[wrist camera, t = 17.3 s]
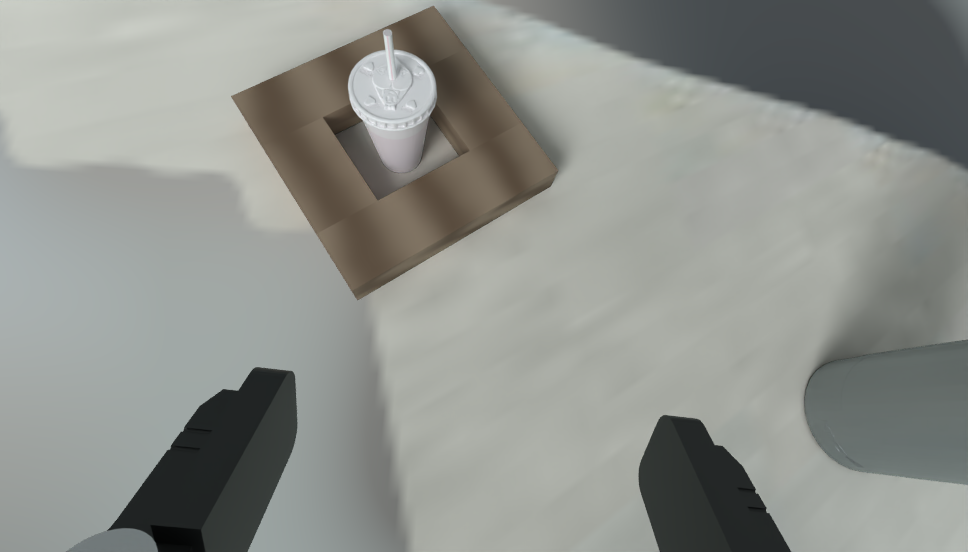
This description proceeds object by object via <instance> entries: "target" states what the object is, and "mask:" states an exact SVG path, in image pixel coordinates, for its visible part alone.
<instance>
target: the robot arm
mask: <svg viewBox="0 0 968 552" xmlns="http://www.w3.org/2000/svg"><path fill="white" fill-rule="evenodd" d="M805 413H806V417H807V422H808V425H809V427H810V430H811V432H812V434H813V436H814V438H815V439H816V441H817V442H818V444H819V445H820V447H821V448H822V449H823V450H824V451H825V452H826V453H827V454H828V455H829V456H830V457H831V458H832V459H834V460H835V461H836V462H838V463H839V464H841V465H843V466H845V467H847V468H849V469H852V470H856V471H860V472H867V473H875V474H883V475H892V476H900V477H906V478H914V479H923V480H931V481H939V482H947V483H956V484H964V485H968V340H961V341H955V342H948V343H941V344H935V345H928V346H921V347H915V348H908V349H901V350H895V351H888V352H881V353H874V354H868V355H863V356H862V357H856V358H849V359H843V360H837V361H832V362H830V363H827V364H825V365H823V366H822V367H821V368H819V369H818V370H817V371H816V372H815V373H814V375H813V376H812V378H811V379H810V381H809V384H808V386H807V389H806V394H805ZM296 433H297V406H296V388H295V375H294V373H293V372H292V371H286V370H277V369H268V368H260V367H256V368H254V369H253V370H252V371H251V372H250V374H249V375H248V377H247V378H246V380H245V381H244V383H243V384H242V386H241V388H240V389H239V391H234V390H226V389H223V390H222V391H221V392H219V393H218V394H216V395H215V396H213V397H212V398H210V399H209V400H208V401H206V402H205V403H203V404H202V405H201V406H200V407H199V408H198V409H197V411H196V412H195V414H194V415H193V416H192V417H191V419H190V420H189V422H188V423H187V424H186V426H185V427H184V431H183V432H181V433H180V434H179V435H178V437H177V438H176V439H175V441H174V442H173V444H172V445H171V449H170V450H167V452H166V453H165V454H164V456H163V457H162V458H161V460H160V462H159V463H158V464H157V465H156V467H155V468H154V469H153V471H152V472H151V474H150V475H149V476H148V478H147V479H146V480H145V482H144V483H143V484H142V486H141V487H140V489H139V490H138V491H137V493H136V494H135V495H134V497H133V498H132V500H131V501H130V502H129V504H128V505H127V506H126V508H125V509H124V511H123V512H122V513H121V515H120V516H119V517H118V519H117V520H116V521H115V522H114V524H113V525H112V526H111V527H110V528H109V529H108V530H107V531H105V532H102V533H99V534H96V535H94V536H92V537H90V538H87V539H85V540H84V541H82V542H80V543H78V544H77V545H75V546H74V547H72V548H71V549H69V550H68V551H66V552H248V549H249V547H250V545H251V543H252V540H253V538H254V536H255V533H256V531H257V529H258V527H259V525H260V522H261V520H262V518H263V515H264V513H265V511H266V509H267V506H268V504H269V502H270V500H271V498H272V495H273V493H274V491H275V489H276V486H277V484H278V482H279V479H280V477H281V475H282V473H283V471H284V468H285V466H286V464H287V462H288V459H289V457H290V455H291V452H292V449H293V446H294V443H295V438H296ZM639 487H640V491H641V495H642V498H643V501H644V504H645V507H646V510H647V513H648V516H649V519H650V522H651V526H652V529H653V532H654V535H655V538H656V541H657V544H658V547H659V550H660V552H791V551H790V549H789V547H788V546H787V544H786V542H785V540H784V538H783V537H782V535H781V533H780V531H779V530H778V528H777V526H776V524H775V523H774V521H773V519H772V517H771V516H770V514H769V513H767V512H766V507H765V505H764V503H763V501H762V500H761V498H760V496H759V494H756V493H755V490H756V489H755V487H754V486H753V484H752V482H751V480H750V479H749V477H748V475H747V473H746V472H745V470H744V468H743V466H742V465H741V464H740V463H739V462H738V461H737V460H736V459H735V458H734V457H733V456H732V455H731V454H730V453H729V452H728V451H727V450H726V449H725V448H724V447H723V446H718V445H714V443H713V441H712V439H711V437H710V435H709V434H708V432H707V430H706V428H705V426H704V424H703V423H702V422H701V421H700V420H699V419H694V418H686V417H677V416H668V415H663V416H662V417H660V419H659V420H658V422H657V425H656V427H655V429H654V432H653V434H652V436H651V439H650V441H649V443H648V446H647V448H646V450H645V453H644V455H643V457H642V460H641V463H640V467H639Z"/></svg>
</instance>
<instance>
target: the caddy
mask: <svg viewBox="0 0 968 552" xmlns="http://www.w3.org/2000/svg"><path fill="white" fill-rule="evenodd" d="M386 29H389V30H391V31H392V38H393V47H394V50H401V51H405V52H408V53H411V54H413V55H415V56H417V57H419V58H420V59H421V60H423V61H424V62H425V63H426V64H427V65H428V66H429V68H430V69H431V71H432V73H433V75H434V77H435V81H436V90H437V99H436V104H435V107H434V109H433V111H432V112H431V114H430V116H431V117H432V118H433V120H434V121H435V123H436V124H437V125H438V127H439V128H440V130H441V131H442V133H443V134H444V135H445V137H446V138H447V140H448V141H449V142H450V144H451V145H452V147H453V148H454V149H455V151H456V152H457V154H458V155H459V157H457V158H455V159H454V160H452V161H450V162H448V163H446V164H444V165H443V166H441V167H439V168H437V169H435V170H433V171H432V172H430V173H428V174H426V175H424V176H422V177H420V178H419V179H417V180H415V181H413V182H411V183H409V184H408V185H406V186H404V187H402V188H400V189H398V190H396V191H395V192H393V193H391V194H389V195H387V196H385V197H384V198H382V199H380V200H377V199H376V197H375V196H374V194H373V193H372V191H371V190H370V188H369V187H368V185H367V183H366V182H365V180H364V179H363V177H362V176H361V174H360V173H359V171H358V170H357V168H356V167H355V165H354V164H353V162H352V161H351V159H350V158H349V156H348V155H347V153H346V152H345V150H344V149H343V147H342V146H341V144H340V143H339V141H338V139H337V138H336V136H335V134H337V133H339V132H341V131H343V130H345V129H347V128H349V127H351V126H353V125H355V124H357V123H359V122H361V121H363V120H362V119H361V118H359V116H358V115H357V114H356V112H355V111H354V110H353V108H352V105H351V102H350V99H349V91H348V80H349V76H350V74H351V71H352V70H353V68H354V67H355V65H356V64H357V63H358V62H359V61H360V60H361V59H363V58H364V57H366V56H367V55H369V54H371V53H374V52H377V51H381V50H385V43H384V35H383V31H384V30H386ZM231 97H232V99H233V100H234V102H235V104H236V105H237V107H238V108H239V110H240V112H241V113H242V115H243V116H244V118H245V120H246V121H247V123H248V125H249V126H250V128H251V129H252V131H253V133H254V134H255V136H256V137H257V139H258V141H259V142H260V144H261V146H262V147H263V149H264V150H265V152H266V154H267V155H268V157H269V158H270V160H271V162H272V163H273V165H274V167H275V168H276V170H277V171H278V173H279V175H280V176H281V178H282V179H283V181H284V183H285V184H286V186H287V187H288V189H289V191H290V192H291V194H292V196H293V197H294V199H295V200H296V202H297V204H298V205H299V207H300V208H301V210H302V212H303V213H304V215H305V217H306V218H307V220H308V221H309V223H310V225H311V226H312V228H313V229H314V231H315V233H316V234H317V236H318V237H319V239H320V241H321V242H322V244H323V245H324V247H325V249H326V250H327V252H328V254H329V255H330V257H331V258H332V260H333V262H334V263H335V265H336V267H337V268H338V270H339V271H340V273H341V275H342V276H343V278H344V279H345V281H346V283H347V284H348V286H349V287H350V289H351V291H352V292H353V294H354V295H355V297H356V299H357V300H359V299H361V298H363V297H364V296H366V295H368V294H369V293H371V292H373V291H374V290H376V289H378V288H379V287H381V286H383V285H385V284H386V283H388V282H390V281H391V280H393V279H395V278H396V277H398V276H400V275H401V274H403V273H405V272H407V271H408V270H410V269H412V268H413V267H415V266H417V265H418V264H420V263H422V262H423V261H425V260H427V259H429V258H430V257H432V256H434V255H435V254H437V253H439V252H440V251H442V250H444V249H445V248H447V247H449V246H451V245H452V244H454V243H456V242H457V241H459V240H461V239H462V238H464V237H466V236H467V235H469V234H471V233H473V232H474V231H476V230H478V229H479V228H481V227H483V226H484V225H486V224H488V223H489V222H491V221H493V220H495V219H496V218H498V217H500V216H501V215H503V214H505V213H506V212H508V211H510V210H511V209H513V208H515V207H517V206H518V205H520V204H522V203H523V202H525V201H527V200H528V199H530V198H532V197H533V196H535V195H537V194H539V193H540V192H542V191H544V190H545V189H547V188H549V187H550V186H551V184H552V182H553V180H554V178H555V176H556V174H557V172H558V169H557V168H556V167H555V165H554V164H553V163H552V162H551V160H550V159H549V158H548V156H547V155H546V154H545V152H544V151H543V150H542V148H541V147H540V146H539V144H538V143H537V142H536V140H535V139H534V138H533V136H532V135H531V134H530V132H529V131H528V130H527V128H526V127H525V126H524V124H523V123H522V122H521V120H520V119H519V118H518V117H517V115H516V114H515V113H514V111H513V110H512V109H511V107H510V106H509V105H508V103H507V102H506V101H505V99H504V98H503V97H502V95H501V94H500V93H499V91H498V90H497V89H496V87H495V86H494V85H493V83H492V82H491V81H490V79H489V78H488V77H487V75H486V74H485V73H484V72H483V70H482V69H481V68H480V66H479V65H478V64H477V62H476V61H475V60H474V58H473V57H472V56H471V54H470V53H469V52H468V50H467V49H466V48H465V46H464V45H463V44H462V42H461V41H460V40H459V38H458V37H457V36H456V34H455V33H454V32H453V30H452V29H451V28H450V27H449V25H448V24H447V23H446V21H445V20H444V19H443V17H442V16H441V15H440V13H439V12H438V11H437V9H436V8H435V7H434V6H432V7H430V8H427V9H425V10H423V11H421V12H418V13H416V14H414V15H412V16H409V17H407V18H405V19H403V20H401V21H398V22H396V23H394V24H392V25H389V26H387V27H385V28H383V29H380V30H378V31H376V32H374V33H372V34H369V35H367V36H365V37H363V38H360V39H358V40H356V41H354V42H351V43H349V44H347V45H345V46H342V47H340V48H338V49H336V50H334V51H331V52H329V53H327V54H325V55H322V56H320V57H318V58H316V59H313V60H311V61H309V62H307V63H304V64H302V65H300V66H298V67H296V68H293V69H291V70H289V71H287V72H284V73H282V74H280V75H278V76H275V77H273V78H271V79H269V80H267V81H264V82H262V83H260V84H258V85H255V86H253V87H251V88H249V89H246V90H244V91H242V92H240V93H237V94H235V95H233V96H231Z"/></svg>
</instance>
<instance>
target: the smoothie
mask: <svg viewBox="0 0 968 552" xmlns="http://www.w3.org/2000/svg"><path fill="white" fill-rule="evenodd" d="M383 35H384V43H385V50H381V51H377V52H374V53H371V54H369V55H367V56H366V57H364V58H363V59H361V60H360V61H359V62H358V63H357V64H356V65H355V67H354V68H353V70H352V71H351V74H350V76H349V80H348V91H349V99H350V102H351V105H352V108H353V110H354V111H355V112H356V114H357V115H358V116H359V118H361V119H362V120H363V122H364V124H365V126H366V128H367V130H368V132H369V134H370V137H371V139H372V141H373V143H374V145H375V147H376V150H377V152H378V154H379V156H380V158H381V160H382V163H383V164H384V165H385V167H386V168H388V169H389V170H391V171H393V172H397V173H406V172H409V171H412V170H413V169H415V168H416V167H417V166H418V165H419V163H420V161H421V157H422V152H423V146H424V141H425V136H426V131H427V125H428V120H429V116H430V114H431V112H432V111H433V109H434V107H435V104H436V99H437V90H436V81H435V77H434V75H433V73H432V71H431V69H430V68H429V66H428V65H427V64H426V63H425V62H424V61H423V60H421V59H420V58H419V57H417V56H415V55H413V54H411V53H408V52H405V51H401V50H394V47H393V38H392V31H391V30H389V29H386V30H384V31H383Z"/></svg>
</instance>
